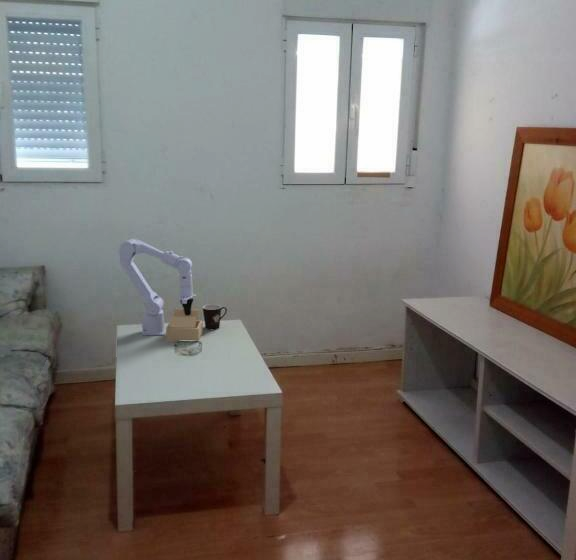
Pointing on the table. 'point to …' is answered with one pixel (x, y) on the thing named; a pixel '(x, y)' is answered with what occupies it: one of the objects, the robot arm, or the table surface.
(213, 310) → the coffee mug
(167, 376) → the table surface
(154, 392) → the table surface
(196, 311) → the flap far
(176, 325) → the flap near
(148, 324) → the robot arm
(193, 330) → the carton
